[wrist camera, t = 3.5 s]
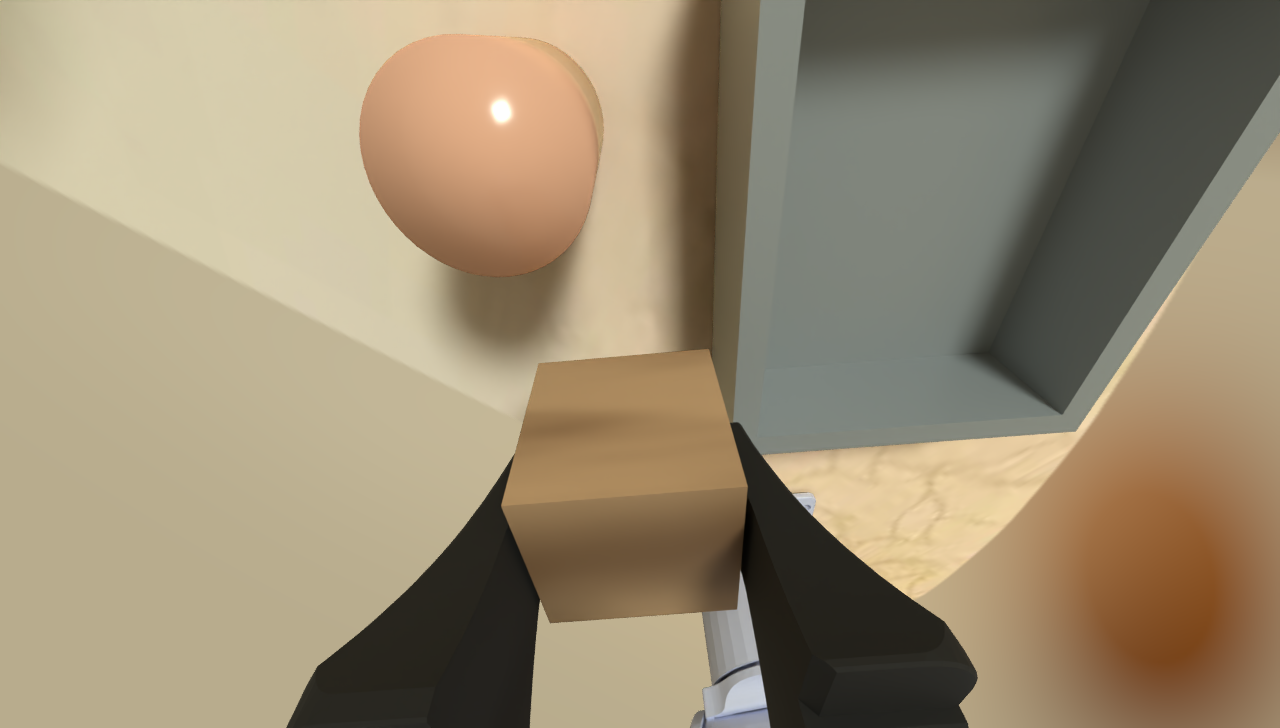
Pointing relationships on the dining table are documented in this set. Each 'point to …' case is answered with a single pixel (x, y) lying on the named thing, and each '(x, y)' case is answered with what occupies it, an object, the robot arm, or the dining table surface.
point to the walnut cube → (628, 488)
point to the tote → (966, 203)
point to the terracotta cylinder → (483, 149)
